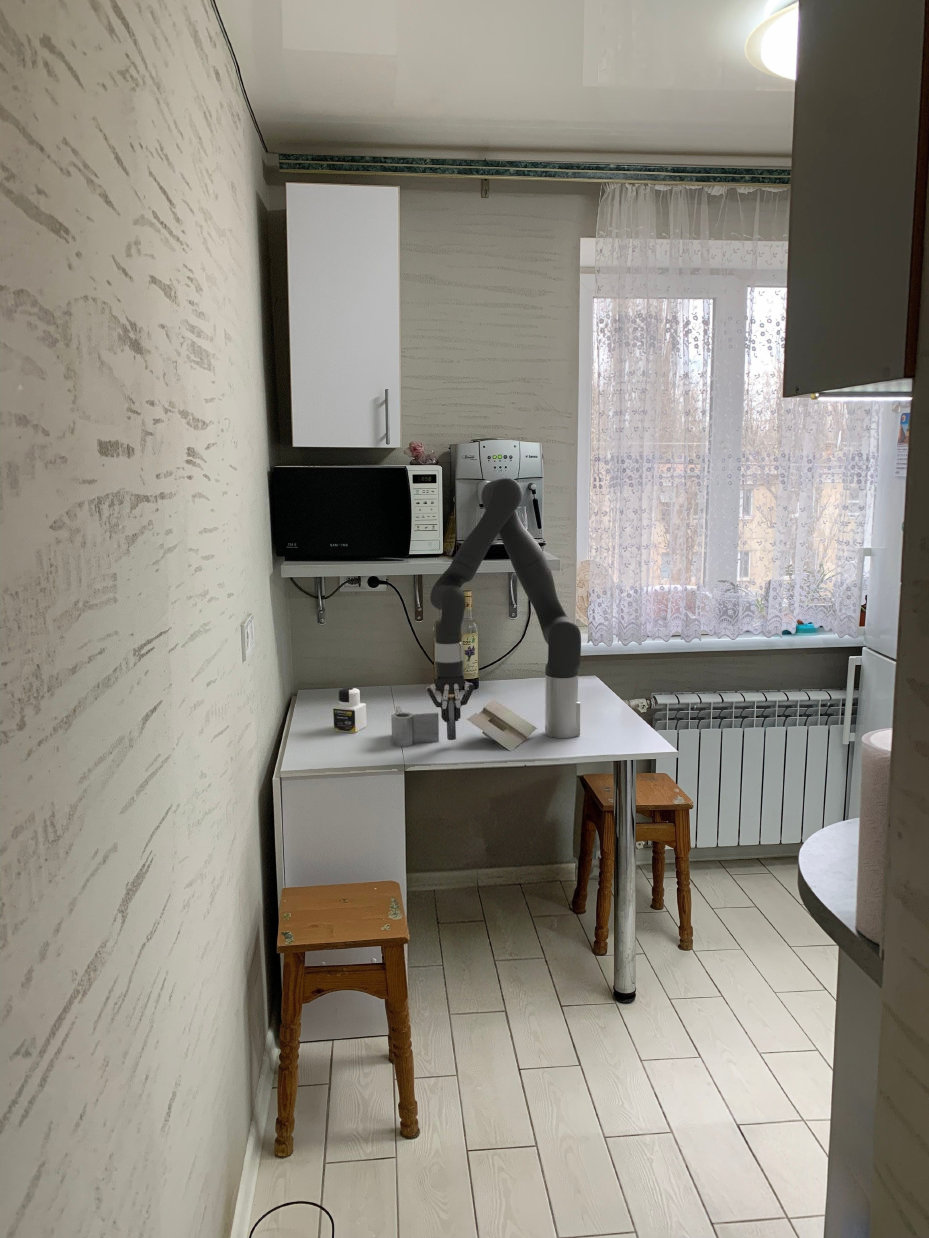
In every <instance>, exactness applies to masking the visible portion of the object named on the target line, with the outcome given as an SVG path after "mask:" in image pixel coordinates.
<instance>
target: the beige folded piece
mask: <svg viewBox="0 0 929 1238" xmlns="http://www.w3.org/2000/svg"><path fill="white" fill-rule="evenodd" d="M466 720H467V721H468V722H470V723H471V724H472V725H474V726H476V727H477V728H478V729H480V730H481V731H482V733H481V734H482V735H484V736H485V737H487V738H488V739H490V740H491V741H493V740H494V741H496V742H498V743H499V744H500V745H501V746H503V747H504V748H506V749H507V750H509V751H510V752H511V751H514V750H515V749H516V748H518V746H520V745H521V744H522V743H523V742H524V741H525V740H527V738H529V736H531V735H532V734H533V733H534V732H535V731H536V730H537V729H538V728H537V726H535V725H534V724H533V723H531V722H529V721H528V720H526V719H525V718H523V717H521V716H520V715H519V714H517V713H516V712H514V711H513V710H510V709H509V708H508V707H507V706H505V705H503V704H502V703H501V702H499V701H497V700H496V699H493V700H491V701H490V702H489V703H488V704H486V705H485V706H484V707H483V709H482V710H481V711H480V712H475V713H473V714H472V715H471V716H469V717H468V718H466Z"/></svg>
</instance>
